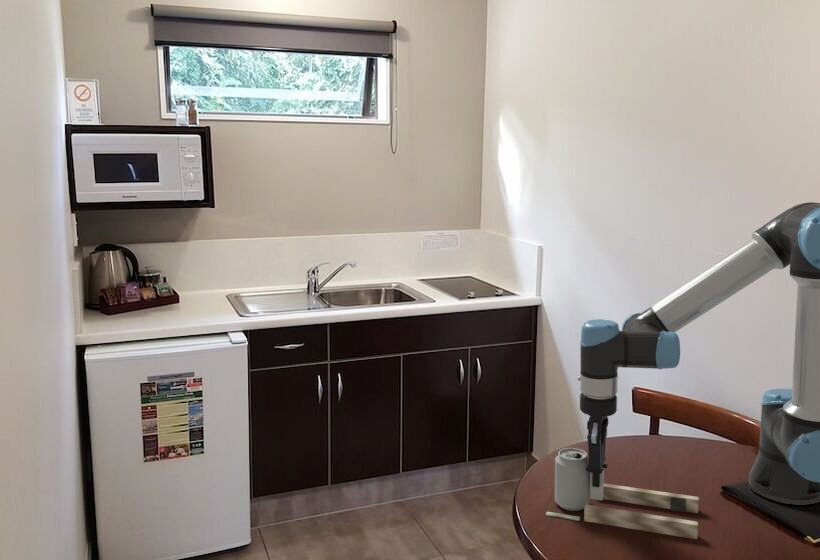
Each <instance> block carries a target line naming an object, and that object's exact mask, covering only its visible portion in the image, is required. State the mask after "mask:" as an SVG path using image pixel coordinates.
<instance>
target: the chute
mask: <svg viewBox="0 0 820 560" xmlns="http://www.w3.org/2000/svg"><path fill="white" fill-rule="evenodd" d="M603 500H608V501H613V502H614V501H615V502H621V503H627V504H634V505H639V506H640V505H641V506H646V507H654V508H659V509H661V508H662V509H666V510H667V509H668V510H670V511H673V512H679V513H680V512H681V513H686V512H687V513H694V514H698V513H699V501H700V497H699V496H693V495H687V494H681V493H680V494H679V493H673V492H667V491H666V492H665V491H658V490H652V489H645V488H638V487H631V486H626V485H625V486H624V485H620V484H619V485H618V484H610V483H606V482H604V491H603ZM583 510H584V511H583V513H584V514H583V515H584V516H583V519H584V520H583V521H584V522H589V523H595V524H599V525H600V524H601V525H605V526H606V525H607V526H613V527H619V528H623V529H624V528H626V529H631V530H638V531H643V532H648V533H650V532H651V533H656V534H662V535H667V536H674V537H682V538H687V539H693V540H698V530H699V529H698V528H699V527H698V526H699V522H698V521H695V520H688V519H686V518H682V517H677V516H676V517H675V516H664V515H656V514H652V513H651V514H649V513H645V512H644V513H643V512H638V511H637V512H636V511H630V510H624V509H618V508H617V509H616V508H612V507H605V506H597V505H592V504H589V505H587V504H586V505H585V508H584V509H583ZM545 516H546V517H554V518H559V519H567V520H571V521H578V522H580V520H581V516H578V515H573V514H572V515H571V514H565V513H558V512H553V511H546V513H545Z"/></svg>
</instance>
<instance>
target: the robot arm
mask: <svg viewBox="0 0 820 560" xmlns="http://www.w3.org/2000/svg"><path fill="white" fill-rule="evenodd" d="M788 266H789V277H791V278H792V280H794V281H795V282H796V283H797V290H796V292H797V293H796V294H797V295H796V311H795V313H796V314H795V332H794V348H793V349H794V351H793V367H792V369H793V371H792V388H773V389H772V388H771V389H769V390H768V389H767V390H766V391H765V392H764V393H763V394H762V400H761V403H760V405H761V406H760V407H761V411H760V427H759V428H760V430H759V444H758V445H759V449H758V454H757V457H756V458H755V461H754V463H753V465H752V467H751V469H750V472H749V474H748V482H749V484H750V485H751V486H752V487H753V488H755V489H756V490H758V491H760V492H762V493H765V494H768V495H771V496H775V497H778V498H784V499H790V500H810V499H814V498H817V497H818V496H820V202H813V201H808V202H802V203H800V204H796V205H793V206H792V207H790V208H788V209H786V210H784V211H783V212H782V213H780V214H778V215H777V216H776V217H774V218H773V219H771V220H770V221H768V222H767V223H765V224H764V225H762V226H761V227H759V228H758V229H756V230H755V231H753V232H752V235H751V239H750V240H748V241H747V242H746V243H744V244H743V245H741V246H740V247H739V248H737V249H735V250H734V251H732V252H731V253H729V254H727V255H726V256H724V257H723V258H722V259H720V260H718V262H716V263H714V264H713V265H711V266H710V267H708V268H706V269H705V270H704V271H702V272H701V273H699V274H698V275H696V276H695V277H694V278H692V279H690V280H689V281H687V282H686V283H685V284H682V286H680V287H678V288H677V289H675V290H674V291H672V292H671V293H669V294H668V295H666V296H665V297H664V298H662V299H660V300H659V301H658V302H656V303H654V304H653V305H652V306H650V307H649V308H647V309H645V310H644V311H642V312H636V313H631V314H630V315H628V316H627V317H626V318H625V320H624V321H623V322H622V325H621V330H620V327H619V323H617V322H616V321H614V320H610V319H609V320H608V319H603V318H602V319H601V318H598V319H590V320H587V321H585V322H584V323H583V324H582V326H581V333H580V343H579V344H580V376H578V377H577V381H578V382H580V386H579V387H580V392H581V393H580V394H579V409H580V411H581V412H582V413H583V414H585V415H587V416H589V417H588V420H587V422H586V429H587V431H588V432H587V436H586V438H587V446H588V447H587V448H588V449H587V451H588V452H587V455H588V458H589V468H588V469H586V471H589V472H590V500H595V501H603V500H604V499H603V491H604V483H605V482H604V481H605V479H604V478H605V477H604V476H605V469H608V465H609V464H607V463H606V464H605V462H606V450H607V449H606V447H607V446H606V445H607V435H608V426H609V417H611V416H613V415H614V414H615V415H616V413H617V411H618V409H617V407H618V406H617V405H618V396H617V394H618V384H619V383H618V379H619V375H618V369H619V368H629V369H631V368H632V369H653V370H654V369H655V370H657V369H658V370H662V369H663V370H664V369H665V370H667V369H675V368H677V367H678V365H679V364H680V360H681V342H680V337H679V335H678V334H677V333H678V331H680V330H681V329H683V328H684V327H686V326H688V325H689V324H690V323H692V322H693V321H695V320H697V319H698V318H700V317H701V316H703V315H705V314H706V313H707V312H709V311H710V310H712V309H713V308H715V307H717V306H718V305H720V304H721V303H723V302H725V301H726V300H728V299H729V298H731V297H732V296H735V295H736V294H737V293H739V292H740V291H741V290H743V289H745V288H747V287H748V286H749V285H751V284H753V283H754V282H755V281H757V280H759V279H761V278H762V277H764V276H765V275H766V274H768V273H770V272H771V271H772V270H776V269H777V270H783V269H785V268H787V267H788ZM676 332H677V333H676Z"/></svg>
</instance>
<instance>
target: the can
mask: <svg viewBox="0 0 820 560" xmlns="http://www.w3.org/2000/svg"><path fill="white" fill-rule="evenodd" d="M557 454H558V455H556V457H554V501H555V503H556V504H557V505H558V506H559V507H560V508H562V509H564V510H565V511H571V512H574V511H575V512H577V511H582V510H584V508H585V505H586V504H587V505H590V503H591V499H590V472H589V471H586V469H588V468H589V455H588V452H586V451H585V450H583V449H580V448H575V447H566V448H562V449H560V450H559V451H558V453H557Z"/></svg>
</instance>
